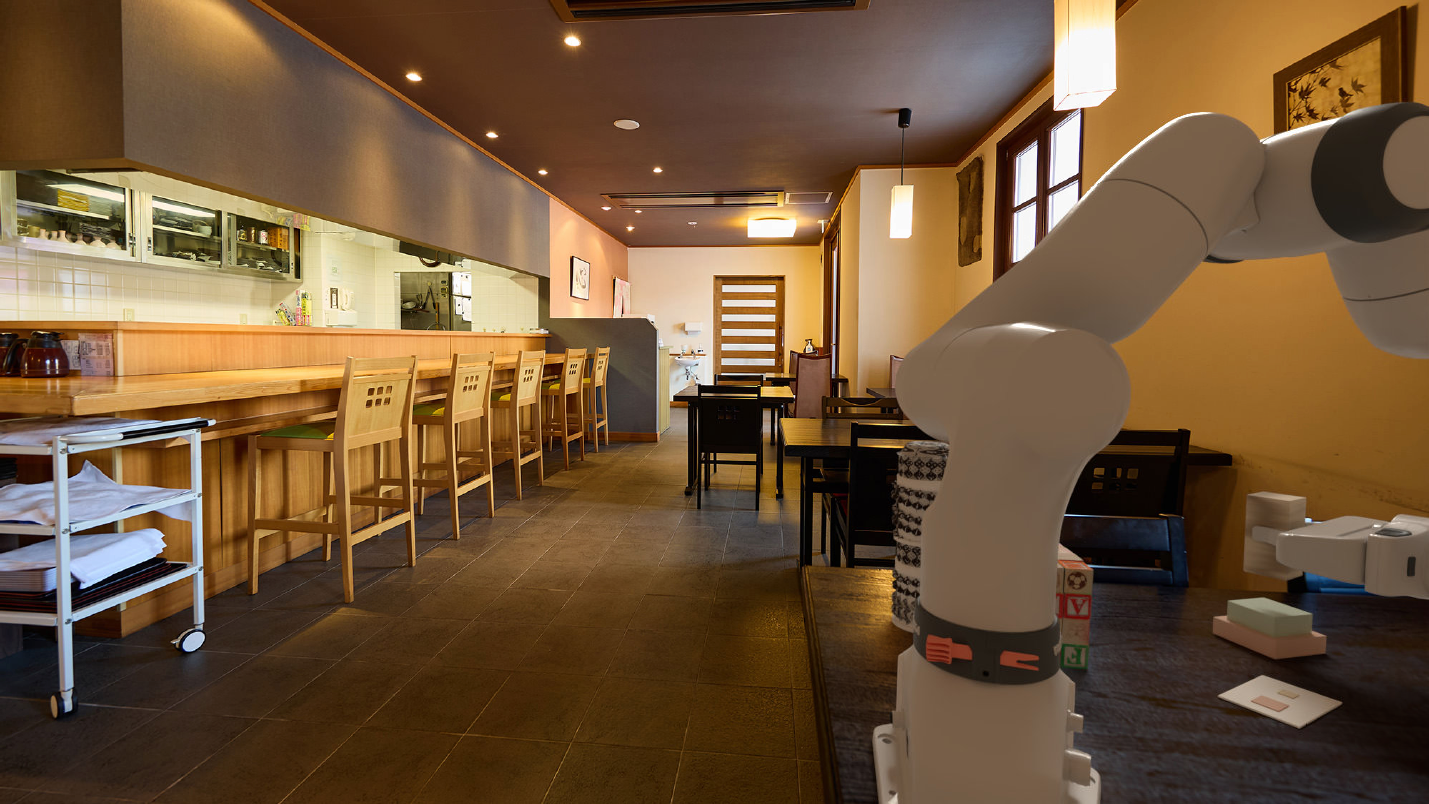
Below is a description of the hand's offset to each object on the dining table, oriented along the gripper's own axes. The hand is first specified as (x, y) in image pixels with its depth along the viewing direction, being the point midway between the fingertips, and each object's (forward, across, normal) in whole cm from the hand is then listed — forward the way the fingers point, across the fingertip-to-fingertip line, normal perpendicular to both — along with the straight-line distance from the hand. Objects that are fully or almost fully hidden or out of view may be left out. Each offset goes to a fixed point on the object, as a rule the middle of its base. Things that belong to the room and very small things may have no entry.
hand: (1265, 529), depth 86 cm
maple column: (-1, 0, +6) cm, 6 cm away
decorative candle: (+25, +35, +15) cm, 45 cm away
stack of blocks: (+16, +24, +15) cm, 32 cm away
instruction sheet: (-8, +17, +15) cm, 24 cm away
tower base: (-1, 0, +15) cm, 15 cm away
